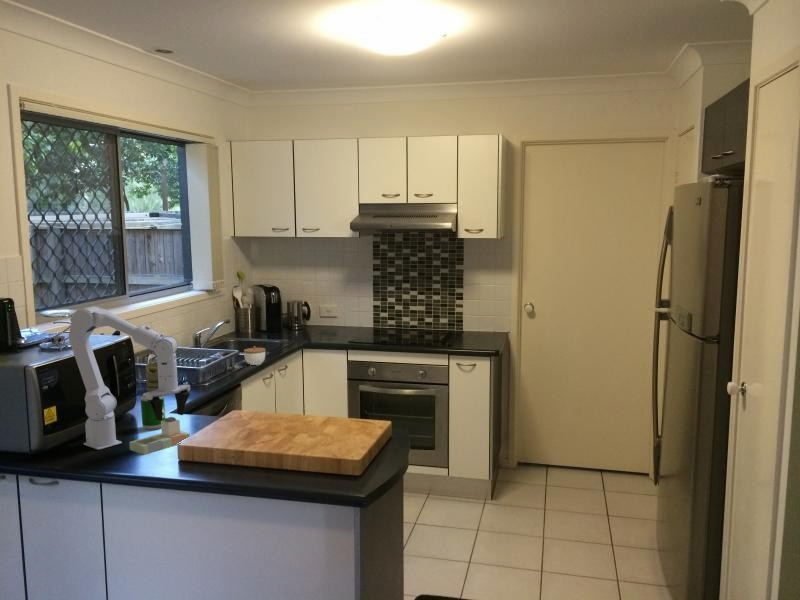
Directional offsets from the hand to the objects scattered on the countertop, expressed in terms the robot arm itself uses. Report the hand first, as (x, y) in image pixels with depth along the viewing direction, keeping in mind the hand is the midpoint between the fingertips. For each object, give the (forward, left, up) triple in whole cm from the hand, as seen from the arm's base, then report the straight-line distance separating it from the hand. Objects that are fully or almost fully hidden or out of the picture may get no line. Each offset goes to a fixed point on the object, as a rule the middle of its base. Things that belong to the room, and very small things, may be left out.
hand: (170, 417), depth 213 cm
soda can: (-20, +6, -8) cm, 22 cm away
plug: (0, 0, -8) cm, 8 cm away
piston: (-67, +38, -8) cm, 77 cm away
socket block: (0, -4, -8) cm, 9 cm away
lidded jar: (-79, +99, -8) cm, 127 cm away
